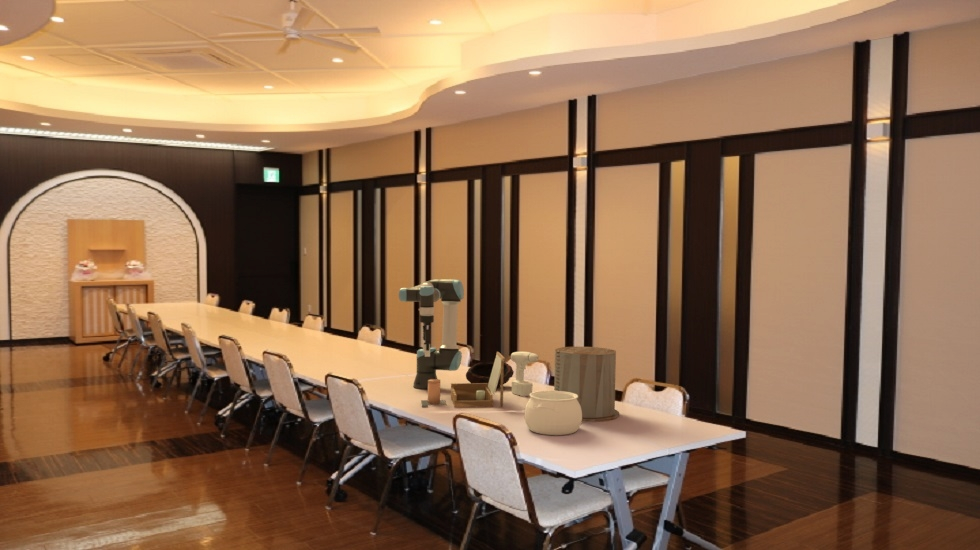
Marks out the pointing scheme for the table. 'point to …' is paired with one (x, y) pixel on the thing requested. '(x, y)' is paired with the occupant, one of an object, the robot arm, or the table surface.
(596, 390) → the storage basket
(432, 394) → the terracotta pot
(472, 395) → the cold frame
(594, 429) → the table surface
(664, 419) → the table surface
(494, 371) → the lid
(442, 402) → the slate tile
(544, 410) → the pot
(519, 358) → the power drill
